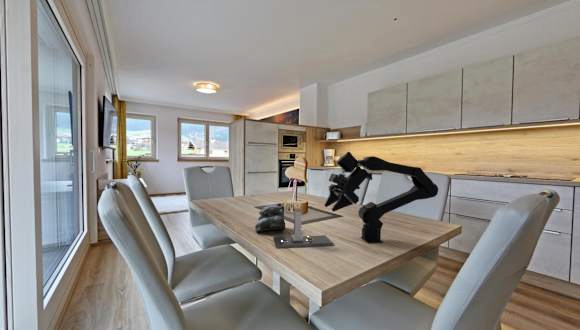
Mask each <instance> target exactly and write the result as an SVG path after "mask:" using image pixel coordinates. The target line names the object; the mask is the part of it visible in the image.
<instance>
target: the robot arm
mask: <svg viewBox="0 0 580 330" xmlns="http://www.w3.org/2000/svg"><path fill="white" fill-rule="evenodd" d="M336 164H337V165H338V166H339V167H340V168H341V169H342V170H343V172H345V173H350V174H349V175H348V176H346V175H345V174H342V173H339V174H336V173H331V174H330V177H329V179H328V181H329V182H332V183H334V184H332V183H331V184H330V185H329V186H328V191H329V194H328V197H327V199H326V201H325V203H324V207H325V208H328V207H329V206H331V205H333V204H334V205H333V206H332V208H331V211H332V212H337V211H339V210H341V209H344V208H346V207H348V206H353V205H357V204H358V202H359V201H360V197H359V196H358V195H357V194H356V193H355V191H356V190H359V189H361V187H360V186H361V184H363V182H365V181H366V179H367V181H371V180H373V173H372V171H373V172H375V171H376V172H389V173H395V174H400V175H406V176H410V178H411V182H412V184H413V186H412V187H411V188H410V189H408V190H407V191H406V192H403V193H400V194H398V195H396V196H393V197H391V198H389V199H386V200H384V201H382V202H379V203H375V202H372V201H370V202H368V203H366V204H362V207H360V208H359V209H358V214H357V215H358V217H359V219H361V220H362V222H363V224H362V228H361V237H360V238H361V239H362V240H363V241H365V242H366V243H367V244H374V243H375V244H378V243H383V242H384V241H383V240H382V238H381V236H382V235H381V234H382V232H381V231H382V228H383V225H384V223H383V221H381V218H382V217H383V216H384V215H385V214H387V213H389V212H391V211H392V212H393V211H395V210H396V209H398V208H399V209H400V208H401V207H404V206H407V205H408V204H410V203H412V202H414V201H418V200H427V199H432V198H435V197H436V196H437V195H438V193H439V187H438V185H437V184H436V183H434V182H433V180H432V179H431V178H430V177H429V176H428V175H427V174H426V173H425V172H424V170H423V169H422V168H421V167H419V166H411V165H404V164H399V163H395V162H389V161H386V160H385V159H382V158H380V157H377V156H374V155H373V156H366V157H364V158H363V159H357V158H356V157H355V156H353V154H352V153H351V151H347V152H346V153H345V154H343V155H342V156H341V157H339V158H338V160H337V161H336ZM361 167H362V168H361ZM368 171H371V172H370V173H369V172H368Z"/></svg>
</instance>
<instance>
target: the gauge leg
mask: <svg viewBox="0 0 580 330" xmlns="http://www.w3.org/2000/svg"><path fill="white" fill-rule="evenodd" d="M293 211H294V212H293V213H294V214H293V234H291V236H290V237H291V238H292V240H293V242H295V241H304V238H303V237H302V236H303V235H302V212H303V208H302V207H293Z"/></svg>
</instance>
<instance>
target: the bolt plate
mask: <svg viewBox="0 0 580 330" xmlns="http://www.w3.org/2000/svg"><path fill="white" fill-rule="evenodd" d="M302 237H303V238H304V241H295V242H293V240H292V238H291V236H273V237H272V241H273V243H274V247H275V249H280V248H281V249H283V248H286V249H287V248H305V247H325V246H326V247H328V246H334V244H333V243H334V242H332V240H330V238H329V237H328V236H327V235H311V234H308V235H302Z"/></svg>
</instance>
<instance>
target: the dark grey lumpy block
mask: <svg viewBox="0 0 580 330" xmlns="http://www.w3.org/2000/svg"><path fill="white" fill-rule="evenodd" d="M285 208H286V207H285V206H284V205H282V204H281V203H277V204H269V205H266V206H265V207H264V208H263V209H261V210H260V211H259V213H258V214H259V216H258V221H257V222H256V224H254V227H255V228H254V229H255V230H254V231H255V232H256V233H259V232H264V231H284V230H286V222H285V211H286V210H285Z"/></svg>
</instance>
